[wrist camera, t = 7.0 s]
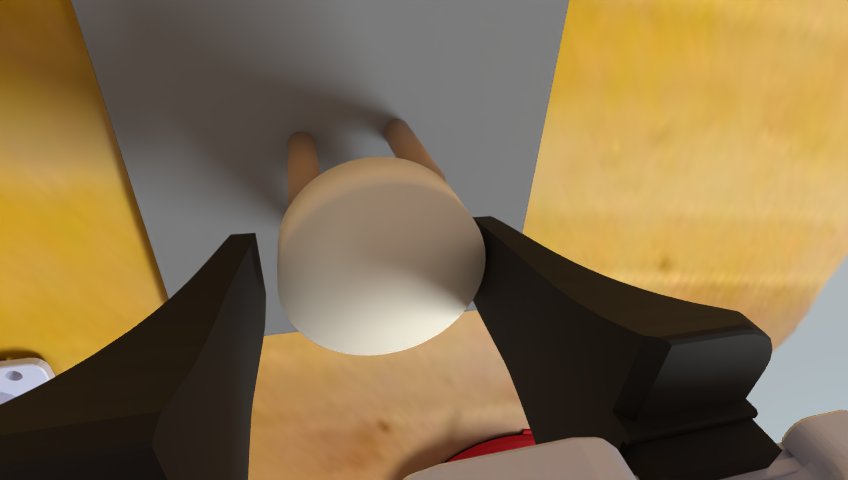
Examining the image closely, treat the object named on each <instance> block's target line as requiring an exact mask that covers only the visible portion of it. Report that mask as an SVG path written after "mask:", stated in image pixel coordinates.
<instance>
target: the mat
mask: <svg viewBox="0 0 848 480" xmlns="http://www.w3.org/2000/svg"><path fill="white" fill-rule="evenodd" d="M71 2H72V5H73V8H74V11H75V14H76V17H77V20H78V23H79V26H80V29H81V32H82V35H83V38H84V42H85V45H86V48H87V51H88V54H89V57H90V60H91V63H92V66H93V69H94V72H95V75H96V78H97V81H98V84H99V87H100V90H101V93H102V96H103V99H104V103H105V106H106V109H107V112H108V115H109V118H110V121H111V124H112V127H113V130H114V133H115V136H116V139H117V142H118V145H119V148H120V151H121V154H122V157H123V161H124V164H125V167H126V170H127V173H128V176H129V179H130V182H131V185H132V188H133V191H134V194H135V197H136V200H137V203H138V206H139V209H140V212H141V215H142V218H143V222H144V225H145V228H146V231H147V234H148V237H149V240H150V243H151V246H152V249H153V252H154V255H155V258H156V261H157V264H158V267H159V270H160V273H161V276H162V280H163V283H164V286H165V289H166V292H167V295H168V298H169V299H170V298H171V297H172V296H173V295H174V294H175V293H176V292H177V291H178V290H179V289H180V288H182V287H183V286H184V285H185V284H186V283H187V282H188V281H189V280H190V279H191V278H192V277H193V276H194V275H195V273H196V272H197V271H198V270H199V269H200V268H201V267H202V266H203V265H204V264H205V263H206V262H207V260H208V259H209V258H210V257H211V256H212V255H213V254H214V253H215V251H216V250H217V249H218V248H219V247H220V246H221V245H222V243H223V242H224V241H225V240H226V239H227V238H228V237H229V236H230V235H231V234H245V233H256V238H257V244H258V250H259V256H260V261H261V267H262V273H263V278H264V284H265V290H266V320H265V331H264V336H266V335H275V334H283V333H291V332H299V331H298V330H297V329H296V328H295V327H294V326H293V324H292V323H291V322H290V321H289V319H288V318H287V316H286V314H285V313H284V311H283V308H282V306H281V303H280V300H279V295H278V290H277V258H278V237H279V230H280V226H281V223H282V220H283V217H284V215H285V213H286V211H287V209H288V151H287V143H288V139H289V138H290V136H291V135H293V134H294V133H297V132H305V133H308V134H309V135H311V136H312V137H313V138H314V140H315V143H316V149H317V155H318V161H319V167H320V174H322V173H324V172H325V171H327V170H329V169H331V168H333V167H335V166H337V165H340V164H343V163H346V162H349V161H352V160H356V159H361V158H367V157H395V155H394V153H393V152H392V150H391V148H390V146H389V144H388V142H387V141H386V139H385V136H384V130H385V127H386V125H387V124H388V123H389V122H391V121H392V120H396V119H399V120H403V121H405V122H406V123H407V124H408V126H409V127H410V128H411V130H412V131H413V133H414V134H415V135H416V137H417V138H418V140H419V141H420V142H421V144H422V145H423V146H424V148H425V149H426V151H427V152H428V153H429V155H430V156H431V158H432V159H433V160H434V162H435V163H436V164H437V166H438V167H439V169H440V170H441V171H442V173H443V174H444V176H445V179H446V182H447V184H448V185H449V186H450V187H451V188H452V190H453V191H454V192H455V194H456V195H457V197H458V198H459V199H460V201H461V202H462V204H463V205H464V206H465V208H466V209H467V211H468V212H469V213H470V215H471V216H472V217H484V216H492V217H494V218H496V219H498V220H500V221H502V222H503V223H505V224H507V225H509V226H510V227H512V228H514V229H515V230H517V231H519V232H520V233H522V232H523V227H524V222H525V217H526V212H527V207H528V202H529V197H530V192H531V187H532V182H533V177H534V172H535V167H536V162H537V157H538V152H539V147H540V142H541V138H542V133H543V128H544V123H545V118H546V113H547V108H548V103H549V98H550V93H551V88H552V83H553V78H554V73H555V68H556V63H557V58H558V53H559V48H560V43H561V38H562V33H563V28H564V23H565V18H566V13H567V8H568V3H569V0H71ZM395 158H396V157H395ZM473 310H477V308H476V306H475V304H474V302H473V300H472V302H471V303H470V304H469V306H468V307H467V309H466V310H465V311H473ZM465 311H464V312H465Z"/></svg>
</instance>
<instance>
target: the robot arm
mask: <svg viewBox="0 0 848 480" xmlns="http://www.w3.org/2000/svg"><path fill="white" fill-rule="evenodd" d="M472 218H473V219H474V221H475V222H476V224H477V226H478V228H479V230H480V232H481V235H482V238H483V241H484V246H485V258H486V261H485V270H484V274H483V278H482V281H481V284H480V286H479V289H478V291H477V293H476V295H475V297H474V298H473V302H474V304H475V306H476V308H477V310H478V312H479V314H480V316H481V318H482V320H483V322H484V324H485V326H486V328H487V330H488V331H489V333H490V335H491V337H492V339H493V341H494V343H495V345H496V347H497V349H498V351H499V352H500V354H501V356H502V358H503V360H504V362H505V364H506V367H507V369H508V371H509V373H510V375H511V378H512V381H513V383H514V386H515V388H516V391H517V394H518V396H519V399H520V401H521V404H522V407H523V410H524V412H525V415H526V418H527V421H528V424H529V426H530V429H531V432H532V435H533V438H534V441H535V444H536V445H533V446H528V447H523V448H517V449H512V450H507V451H502V452H497V453H492V454H487V455H482V456H477V457H472V458H467V459H462V460H457V461H452V462H447V463H442V464H438V465H435V466H432V467H429V468H427V469H424V470H421V471H418V472H415V473H412V474H410V475H408V476H407V477H405V478H404V479H403V480H848V411H846V410H838V411H833V412H828V413H824V414H819V415H814V416H810V417H806V418H804V419H801V420H800V421H798V422H796V423H795V424H794V425H793V426H792V427H791V428H789V430H788V431H787V432H786V434H785V435H784V437H783V438H782V442H781V443H777V444H776V443H775V442H774V441H773V440H772V439H771V438H770V437H769V436H768V435H767V434H766V433H765V432H764V431H763V430H762V429H761V428H760V427H759V426H758V425H757V424H756V423H755V422H754V420H753V418H755V417H756V416H757V415H758V413H757V410H756V408H755V407H754V406H752V405H751V404H750V403H749V401H747V399H746V397H747V396H748V394H749V393H750V391H751V390H752V388H753V387H754V385H755V384H756V382H757V381H758V379H759V378H760V376H761V375H762V373H763V372H764V370H765V369H766V367H767V365H768V363H769V361H770V358H771V353H772V343H771V339H770V337H769V336H768V335H767V334H766V333H765V332H763V331H762V330H761V329H760V328H758V327H757V326H756V325H755V324H754V323H752V322H751V321H750V320H749V319H748V318H746V317H745V316H744V315H743V314H741V313H740V312H738V311H733V310H728V309H723V308H718V307H713V306H708V305H702V304H697V303H692V302H688V301H684V300H680V299H676V298H672V297H668V296H664V295H660V294H657V293H654V292H650V291H647V290H643V289H640V288H637V287H634V286H631V285H628V284H625V283H623V282H620V281H617V280H614V279H612V278H609V277H606V276H604V275H602V274H599V273H597V272H594V271H592V270H590V269H587V268H585V267H583V266H581V265H579V264H576V263H574V262H572V261H570V260H568V259H567V258H565V257H563V256H561V255H559V254H557V253H555V252H553V251H551V250H549V249H548V248H546V247H544V246H542V245H541V244H539V243H537V242H535V241H534V240H532V239H530V238H529V237H527V236H525V235H524V234H522V233H520V232H519V231H517V230H515V229H514V228H512V227H510V226H509V225H507V224H505V223H503V222H502V221H500V220H498V219H496V218H494V217H492V216H484V217H472ZM265 320H266V290H265V284H264V278H263V273H262V267H261V261H260V256H259V250H258V244H257V238H256V233H245V234H231V235H230V236H229V237H228V238H227V239H226V240H225V241H224V242H223V243H222V245H221V246H220V247H219V248H218V249H217V250H216V251H215V253H214V254H213V255H212V256H211V257H210V258H209V259H208V260H207V262H206V263H205V264H204V265H203V266H202V267H201V268H200V269H199V270H198V271H197V272H196V273H195V275H194V276H193V277H192V278H191V279H190V280H189V281H188V282H187V283H186V284H185V285H184V286H183V287H182V288H180V289H179V290H178V291H177V292H176V293H175V294H174V295H173V296H172V297H171V298H170V299H169V300H168V301H167V302H165V303H164V304H163V305H162V306H161V307H160V308H158V309H157V310H156V311H155V312H154V313H152V314H151V315H150V316H148V317H147V318H146V319H144V320H143V321H142V322H141V323H139V324H138V325H137V326H135V327H134V328H133V329H131V330H130V331H128V332H127V333H125V334H124V335H122V336H121V337H119V338H118V339H116V340H115V341H113V342H112V343H110V344H109V345H107V346H106V347H104V348H103V349H101V350H100V351H98V352H97V353H95V354H94V355H92V356H90V357H89V358H87V359H85V360H84V361H82V362H80V363H79V364H77V365H75V366H74V367H72V368H70V369H68V370H67V371H65V372H63V373H61V374H59V375H57V376H56V377H55V375H54V373H53V371H52V370H51V368H50V366H49V365H48V364H47V363H46V362H45V361H44V360H42V359H38V358H23V359H14V360H6V361H0V480H248V467H249V446H250V428H251V413H252V404H253V397H254V391H255V385H256V379H257V373H258V367H259V361H260V355H261V349H262V343H263V337H264V331H265ZM15 371H17V372H15Z"/></svg>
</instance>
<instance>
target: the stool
mask: <svg viewBox="0 0 848 480" xmlns="http://www.w3.org/2000/svg"><path fill="white" fill-rule="evenodd" d="M384 136H385V139H386V141H387V142H388V144H389V146H390V148H391V150H392V152H393V153H394V155H395V157H396V158H395V157H367V158H361V159H356V160H352V161H349V162H346V163H343V164H340V165H337V166H335V167H333V168H331V169H329V170H327V171H325V172H324V173H322V174H320V167H319V161H318V155H317V149H316V143H315V140H314V138H313V137H312V136H311V135H309V134H308V133H305V132H297V133H294V134H293V135H291V136H290V138H289V139H288V143H287V151H288V209H287V211H286V213H285V215H284V217H283V220H282V223H281V226H280V230H279V237H278V258H277V290H278V295H279V300H280V303H281V306H282V308H283V311H284V313H285V314H286V316H287V318H288V319H289V321H290V322H291V323H292V324H293V326H294V327H295V328H296V329H297V330H298V331H299V332H300V333H302V334H303V335H304V336H305V337H306V338H308V339H310V340H311V341H313V342H314V343H316V344H318V345H320V346H322V347H324V348H327V349H330V350H333V351H336V352H341V353H345V354H352V355H381V354H388V353H394V352H398V351H401V350H405V349H408V348H411V347H414V346H416V345H419V344H421V343H423V342H425V341H427V340H429V339H431V338H433V337H434V336H436V335H438V334H439V333H441V332H442V331H443V330H445V329H446V328H447V327H449V326H450V325H451V324H452V323H453V322H454V321H455V320H457V319H458V318H459V317H460V315H461V314H462V313H463V312H464V311H465V310H466V309H467V307H468V306H469V304H470V303H471V302H472V300H473V298H474V297H475V295H476V293H477V291H478V289H479V286H480V284H481V281H482V278H483V274H484V270H485V261H486V258H485V246H484V241H483V238H482V235H481V232H480V230H479V228H478V226H477V224H476V222H475V221H474V219H473V218H472V216H471V215H470V213H469V212H468V211H467V209H466V208H465V206H464V205H463V204H462V202H461V201H460V199H459V198H458V197H457V195H456V194H455V192H454V191H453V190H452V188H451V187H450V186H449V185H448V184H447V182H446V179H445V176H444V174H443V173H442V171H441V170H440V169H439V167H438V166H437V164H436V163H435V162H434V160H433V159H432V158H431V156H430V155H429V153H428V152H427V151H426V149H425V148H424V146H423V145H422V144H421V142H420V141H419V140H418V138H417V137H416V135H415V134H414V133H413V131H412V130H411V128H410V127H409V126H408V124H407V123H406V122H405V121H403V120H399V119H396V120H392V121H391V122H389V123H388V124H387V125H386V127H385V130H384Z"/></svg>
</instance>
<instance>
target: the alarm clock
mask: <svg viewBox="0 0 848 480" xmlns="http://www.w3.org/2000/svg"><path fill="white" fill-rule="evenodd" d="M523 430H524V432H523V434H522V435H517V436H509V437H504V438H498V439H495V440H492V441H488V442H485V443H482V444H479V445H477V446H475V447H472V448H470V449H468V450H466V451H464V452H462V453H460V454H459V455H457V456H455V457H454V458H452V459H451V460H449V461H448V462H452V461H457V460H462V459H467V458H472V457H477V456H482V455H487V454H492V453H497V452H502V451H507V450H512V449H517V448H523V447H528V446H533V445H536V444H535V441H534V438H533V435H532V432H531V429H523ZM446 463H447V462H446Z"/></svg>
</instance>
